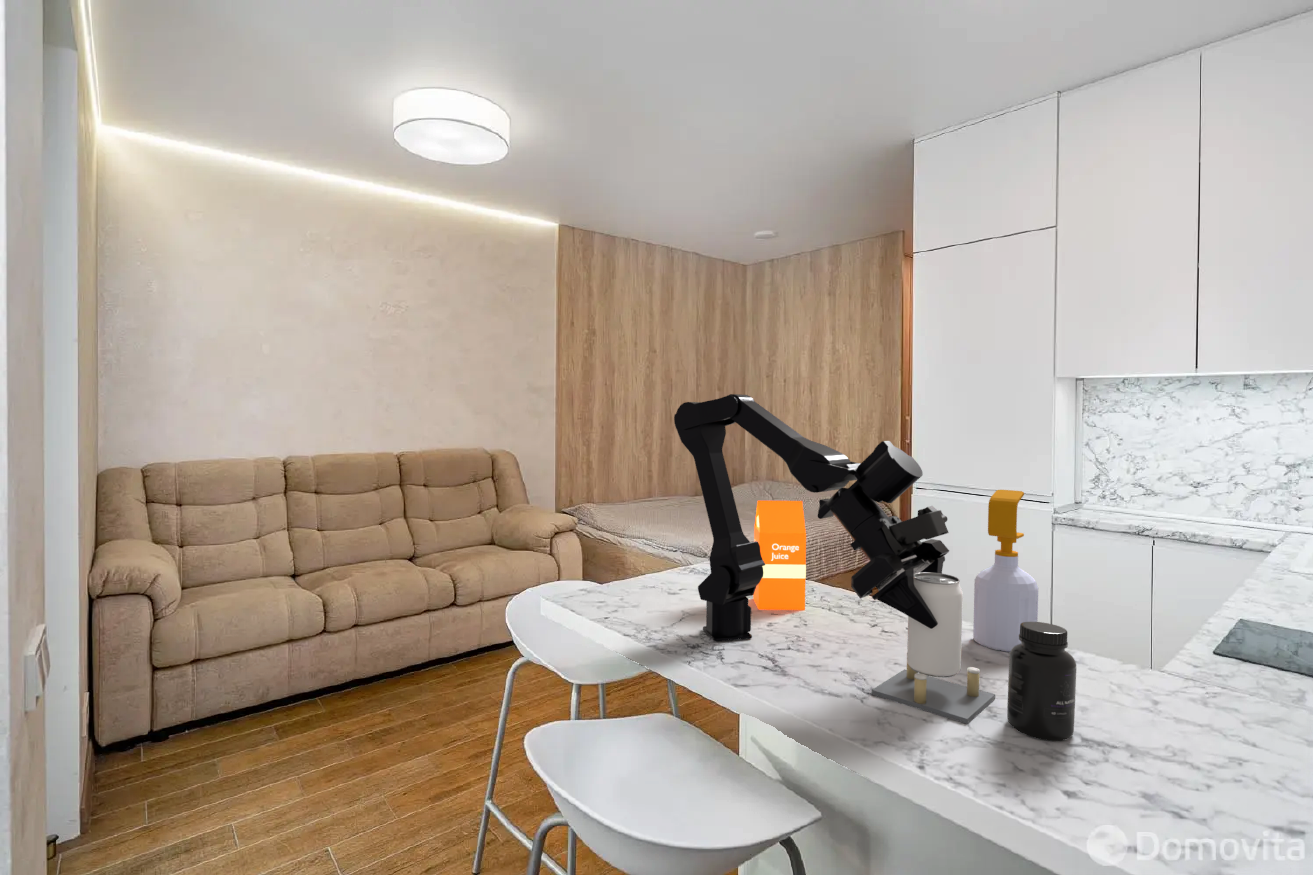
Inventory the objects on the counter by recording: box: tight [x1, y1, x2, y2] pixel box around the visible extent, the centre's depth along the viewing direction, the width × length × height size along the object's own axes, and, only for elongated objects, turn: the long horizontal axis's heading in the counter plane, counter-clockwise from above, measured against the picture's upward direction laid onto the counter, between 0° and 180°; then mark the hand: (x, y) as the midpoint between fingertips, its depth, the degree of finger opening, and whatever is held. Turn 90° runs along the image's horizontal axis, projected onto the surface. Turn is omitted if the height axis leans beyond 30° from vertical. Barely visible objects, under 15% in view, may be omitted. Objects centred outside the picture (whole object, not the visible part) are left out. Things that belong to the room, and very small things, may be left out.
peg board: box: [871, 662, 996, 725], centre depth 88 cm, size 12×10×4 cm
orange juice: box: [752, 500, 807, 611], centre depth 130 cm, size 8×9×20 cm
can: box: [906, 572, 964, 678], centre depth 88 cm, size 6×6×12 cm
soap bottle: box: [972, 489, 1039, 653], centre depth 108 cm, size 9×9×25 cm
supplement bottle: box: [1006, 621, 1077, 742], centre depth 79 cm, size 7×7×12 cm
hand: (945, 620), depth 87 cm, fingers closed on can, 6 cm apart
